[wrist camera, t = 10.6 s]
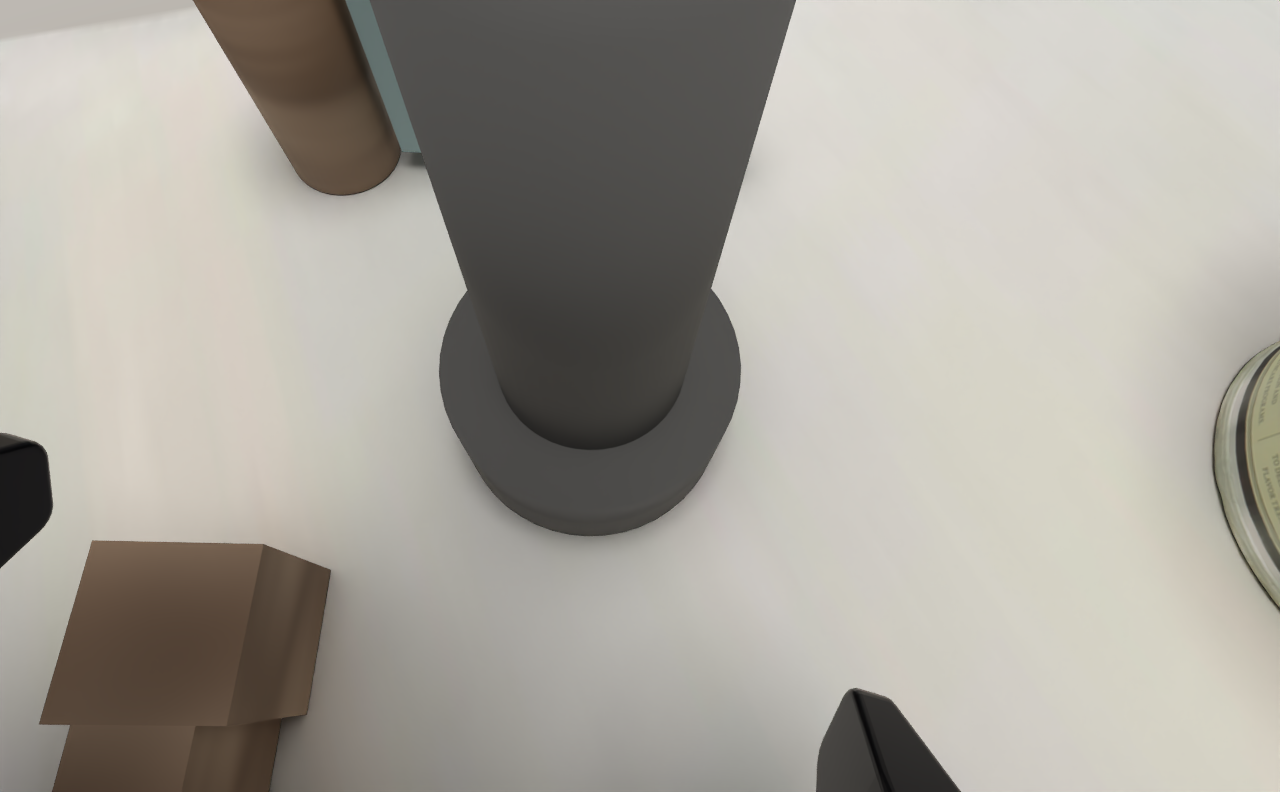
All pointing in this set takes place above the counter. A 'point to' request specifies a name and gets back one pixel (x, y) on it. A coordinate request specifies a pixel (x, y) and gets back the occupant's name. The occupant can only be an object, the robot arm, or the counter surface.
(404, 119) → the door
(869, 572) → the counter surface
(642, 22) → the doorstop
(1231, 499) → the coffee can
